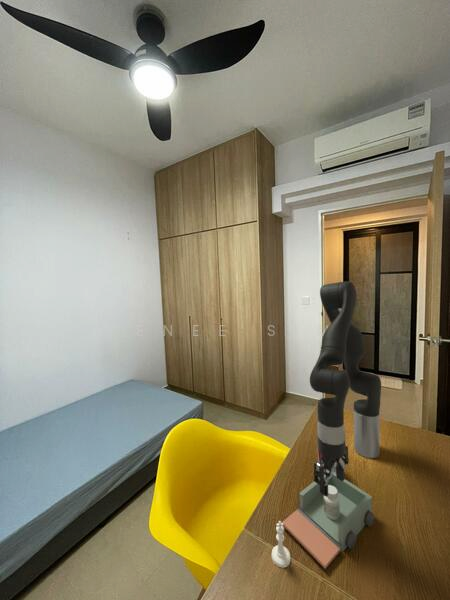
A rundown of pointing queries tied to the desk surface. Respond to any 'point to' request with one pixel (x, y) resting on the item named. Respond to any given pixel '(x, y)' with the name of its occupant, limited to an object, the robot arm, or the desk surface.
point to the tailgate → (312, 537)
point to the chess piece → (280, 549)
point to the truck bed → (351, 510)
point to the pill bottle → (332, 503)
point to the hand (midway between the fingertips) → (332, 486)
